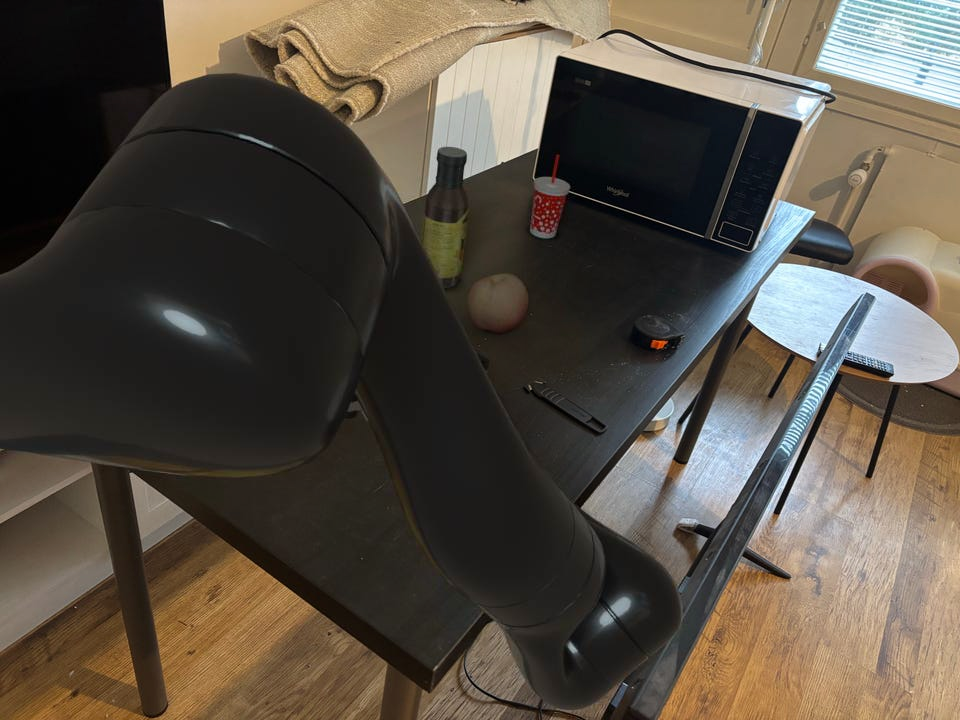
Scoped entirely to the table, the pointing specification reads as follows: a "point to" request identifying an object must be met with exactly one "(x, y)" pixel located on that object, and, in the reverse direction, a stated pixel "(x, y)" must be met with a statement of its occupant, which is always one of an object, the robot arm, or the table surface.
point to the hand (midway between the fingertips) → (374, 327)
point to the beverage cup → (548, 204)
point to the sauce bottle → (447, 216)
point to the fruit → (497, 303)
